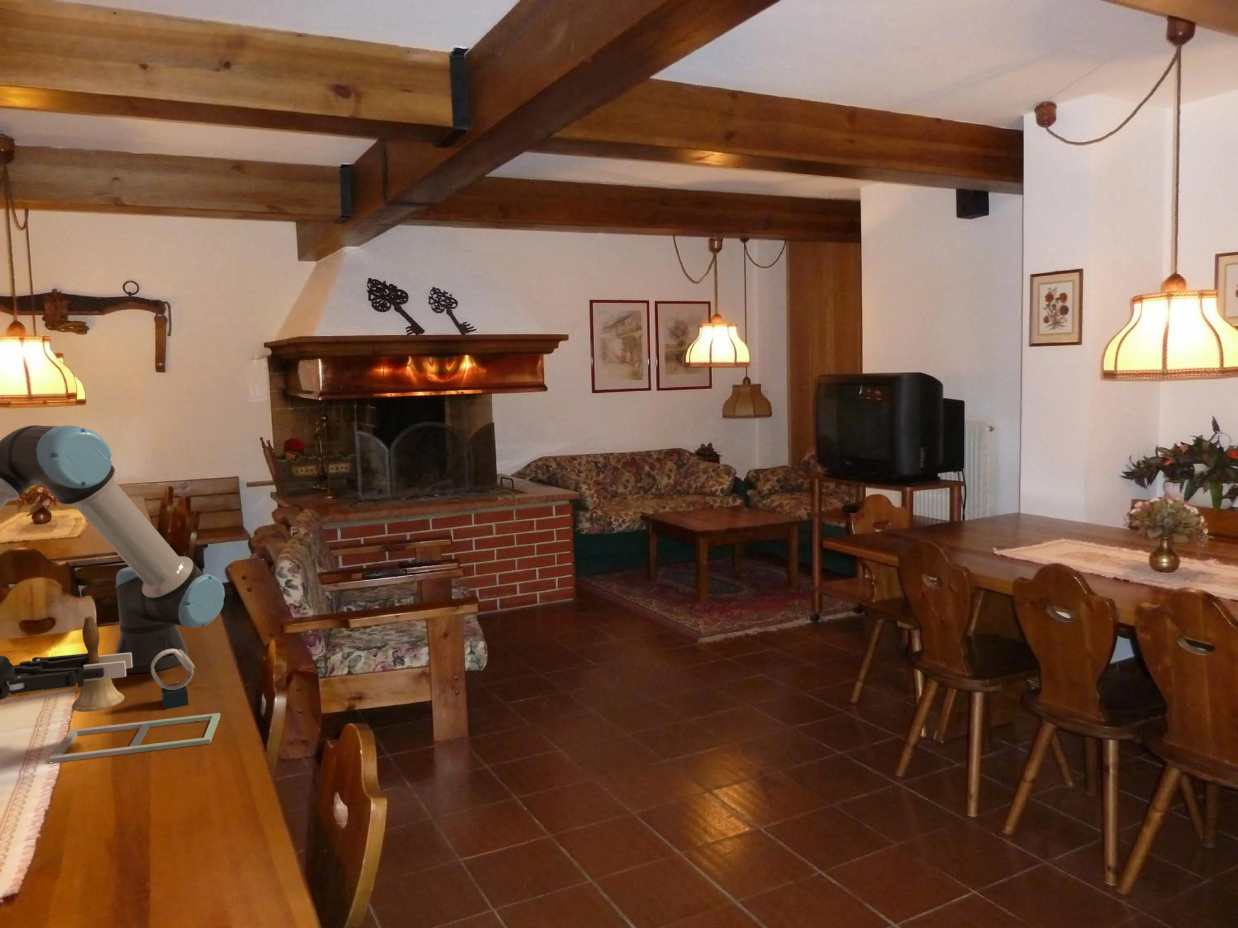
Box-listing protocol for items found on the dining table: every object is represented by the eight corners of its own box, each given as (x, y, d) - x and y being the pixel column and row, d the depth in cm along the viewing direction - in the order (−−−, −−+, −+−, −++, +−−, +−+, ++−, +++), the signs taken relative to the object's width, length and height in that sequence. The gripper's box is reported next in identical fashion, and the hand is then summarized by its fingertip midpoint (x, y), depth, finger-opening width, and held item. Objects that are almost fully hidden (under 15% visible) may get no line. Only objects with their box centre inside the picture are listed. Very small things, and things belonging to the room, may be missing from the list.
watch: (199, 702, 188) (195, 649, 187) (154, 711, 184) (150, 657, 182) (195, 694, 193) (191, 643, 191) (152, 702, 188) (148, 649, 187)
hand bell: (101, 713, 163) (93, 624, 161) (60, 710, 164) (52, 622, 162) (134, 695, 171) (127, 611, 169) (95, 693, 172) (87, 609, 170)
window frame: (72, 733, 173) (71, 729, 173) (220, 716, 180) (220, 712, 180) (49, 763, 160) (49, 758, 160) (210, 743, 167) (210, 739, 167)
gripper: (0, 683, 171) (140, 669, 177) (-38, 718, 154) (118, 701, 160) (-4, 644, 170) (137, 630, 176) (-43, 674, 153) (115, 658, 159)
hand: (128, 664), depth 168 cm, fingers closed on hand bell, 4 cm apart
